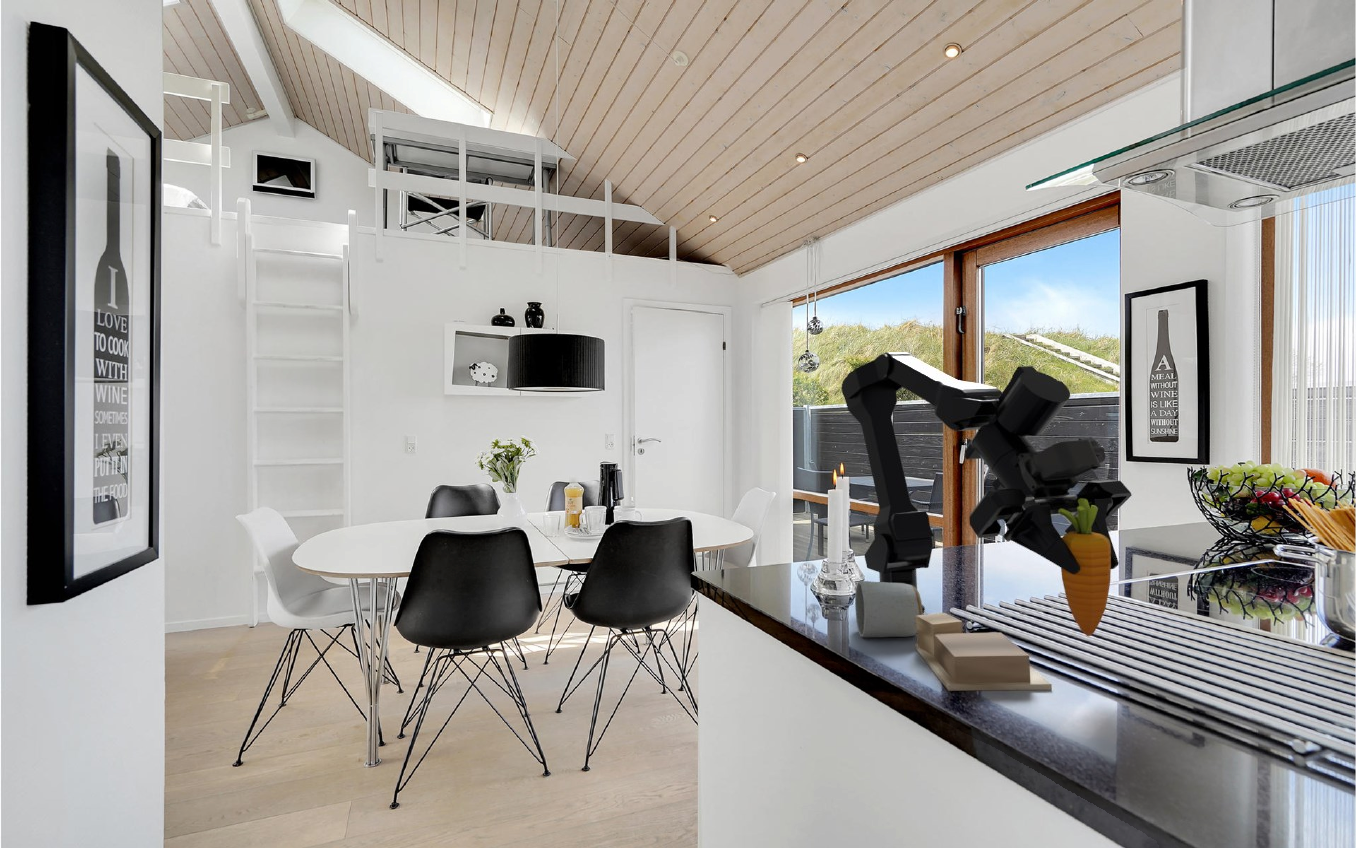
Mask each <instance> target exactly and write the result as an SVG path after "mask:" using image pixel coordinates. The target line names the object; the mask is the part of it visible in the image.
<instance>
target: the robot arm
mask: <svg viewBox="0 0 1356 848" xmlns="http://www.w3.org/2000/svg"><path fill="white" fill-rule="evenodd" d="M902 389H905V390H907V391H909V392H910V393H912V394H913V395H916V396H918V397H919V398H920V399H922V400H924V401H925V402H927V403H929V404H930V405H931V406H932V407H933V408H934V415H935V416H936V418H938V419H939V420H940V422H942V423H943V424H944V425H945V426H946V427H947V428H949V429H950V430H951V431H954V432H955V431H956V432H961V431H976V430H977V432H976V433H975V435H974V436H973V437H972V438H968V439H967V446H966V448H965V450H964V458H965V460H980V459H982V460H983V461H984V463H985V465H986V466H987V468H988V469H989V470H990V471H991V474H993V477H995V480H994V481H993V482H992V483H991V486H992V487H993V488H994V489H991V490H987V491H986V492H985V494H984V495H983V496H982V498H981V499H980V501H979V502H978V503H977V504H976V505H975V507H974V509H972V511H971V513H970V514H969V517H968V518H969V519H968V520H969V526H970V527H971V529H972V530H973V532H974V533H975V535H976V537H977V538H978V539H981V538H982V539H983V538H991V537H998V536H999V534H1001V530H1002V526H1001V523H1000V522H999V521H1000V520H1001V521H1002V520H1003V521H1004V523H1005V526H1006V527H1007V531H1006V532H1005V533H1004V534H1003V536H1002V538H1003V539H1004V540H1005V541H1006V542H1007V541H1008V542H1009V541H1011V542H1014V543H1015V544H1017V545H1019V546H1021V547H1023V548H1026V549H1027V550H1029V551H1032V552H1033V553H1035V554H1037V555H1038V556H1040V557H1042V558H1044V559H1046V560H1047V561H1049V562H1051V563H1053V564H1054V565H1056V566H1058V567H1059V568H1060V569H1061V568H1063V569H1064V570H1066V571H1068V572H1069V573H1071V574H1077V573H1078V572H1079V571H1080V569H1081V568H1080V566H1079V564H1078V562H1077V561H1076V559H1075V557H1074V555H1073V554H1072V552H1071V551H1070V549H1069V548H1068V546H1067V545H1066V543H1065V542H1064V541H1063V539H1062V536H1061V535H1060V533H1059V532H1058V530H1057V529H1056V527H1055V526H1054V523H1053V521H1052V516H1061V514H1059V513H1058V510H1059V509H1065V510H1067V511H1069V512H1070V513H1071V514H1072V515H1073V516H1074V517H1075V516H1076V515H1078V512H1077V507H1079V502H1078V500H1079V499H1080V498H1083V499H1086V500H1088V503H1089V507H1090V508H1091V505H1095V506H1096V507H1097V508H1098V511H1097V514H1096V517H1095V520H1094V522H1093V524H1092V527H1091V532H1094V533H1098V534H1102V535H1104V536H1106V537H1107V538H1108V539H1109V541H1110V545H1111V570H1114V569H1116V568H1117V567H1118V566H1119V564H1120V563H1119V560H1118V557H1117V553H1116V551H1115V548H1114V545H1113V542H1112V539H1111V536H1110V533H1109V532H1110V531H1109V529H1108V524H1107V521H1108V520H1109V519H1110V518H1111V517H1112V516H1113V515H1114V514H1115V513H1116V512H1117V511H1118V510H1119V509H1120V508H1121V507H1122V506H1123V505H1124V504H1125V503H1126V502H1127V501H1128V500H1129V499H1130V498H1131V497H1132V495H1133V494H1132V492H1131V491H1130V490H1129V489H1128V488H1127V486H1126V485H1125V484H1124V483H1123V482H1122V481H1121V480H1116V479H1104V480H1092V481H1088V482H1087V483H1086V484H1085V485H1084V486H1083V487H1082V489H1080V490H1079V492H1078V493H1074V494H1071V493H1070V492H1069V490H1070V489H1074V488H1075V486H1077V485H1078V484H1079V481H1080V480H1078V479H1077V478H1076V477H1079V476H1080V475H1082V474H1084V473H1087V472H1088V471H1091V470H1097V469H1099V468H1100V467H1101V463H1103V462H1104V461H1105V460H1106V453H1105V448H1104V447H1103V446H1102V445H1101V444H1100V443H1098V442H1097V441H1096V440H1095V439H1094V438H1093V437H1092V436H1086V437H1084V436H1083V437H1079V438H1078V439H1076V440H1064V441H1058V442H1056V443H1054V444H1052V445H1051V446H1048V447H1046V448H1045V449H1043V450H1041V451H1038V450H1037V449H1036V447H1035V446H1034V445H1033V443H1031V441H1030V440H1029V439H1028V438H1027V437H1028V436H1032V437H1037V436H1040V435H1042V433H1044V432H1045V431H1046V429H1047V428H1048V426H1049V425H1050V424H1051V422H1053V420H1054V419H1055V418H1056V416H1057V415H1058V414H1059V412H1060V411H1061V410H1062V409H1063V407H1064V406H1065V404H1067V402H1068V401H1069V399H1070V398H1071V392H1070V390H1069V388H1068V386H1067V385H1066V384H1065V383H1064V382H1063V381H1061V380H1058V379H1056V378H1055V377H1053V376H1051V375H1049V374H1046V373H1044V372H1042V371H1041V372H1040V371H1037V370H1036V369H1035V368H1034V366H1032V365H1026V366H1018V367H1016V369H1015V370H1014V372H1013V374H1012V377H1011V379H1010V381H1009V382H1008V384H1007V385H1006V386H1005V388H1004V389H1003V391H1002V390H1000V389H999V388H998V387H995V386H993V385H987V384H985V383H984V384H983V383H979V382H972V381H964V380H960V379H959V380H958V379H956V378H954V377H952V376H950V375H948V374H946V373H945V372H942V371H940V370H938V369H937V368H935V367H934V366H932V365H931V366H930V365H929V364H927V363H925V362H923V361H921V360H919V359H918V358H916V357H915V356H914V355H913V354H912V353H909V352H908V351H907V352H906V351H895V352H894V351H893V352H892V351H891V352H890V351H888V352H887V351H886V352H883V353H881V354H879V355H878V356H877V357H876V358H875V359H873V360H871V361H869V362H867V363H865V364H863V365H861V366H858V367H856V368H855V369H853V370H852V371H849V373H848V374H847V375H846V377H845V378H844V379H843V380H842V384H841V393H842V396H843V398H844V401H845V404H846V407H847V409H848V412H849V413H850V415H852V417H853V418H854V419H856V420H857V422H858V423H859V424H860V425H861V429H862V434H863V435H862V436H863V439H864V442H865V443H864V444H865V447H866V453H867V457H868V461H869V466H870V470H871V475H872V479H873V484H874V489H875V494H876V499H877V503H878V513H877V515H876V517H875V521H874V524H873V535H874V539H873V541H872V542H871V544H870V546H869V547H868V549H867V550H866V552H865V554H864V560H865V566H866V568H867V569H868V570H871V571H874V572H878V574H879V575H878V577H879V582H887V583H904V584H908V585H912V586H914V587H915V588H916V589H917V590H918V582H917V581H918V577H917V570H918V569H929V567H930V561H931V558H932V557H931V556H932V551H933V548H934V539H933V537H934V536H935V535H934V532H933V531H932V527H931V525H930V517H929V514H928V512H927V511H926V510H920V511H919V510H918V508H916V506H915V505H914V504H913V503H912V500H911V497H910V496H911V495H910V492H909V488H908V484H907V479H906V475H905V471H904V467H903V463H902V462H903V461H902V457H901V455H900V454H901V453H900V450H899V444H898V441H897V436H896V431H895V428H894V422H893V419H892V418H893V414H894V410H895V409H896V406H897V403H898V395H897V393H899V392H900V391H901V390H902ZM1062 517H1063V518H1065V520H1067V522H1068V523H1069V524H1070V525H1069V526H1068V527H1067V528H1066V529H1065V530H1064V532H1065V534H1067V533H1069V532H1074V531H1076V529H1075V527H1074V526H1073V524H1072V523H1071V522H1070V521H1069V520H1068V519H1067V518H1066V517H1065V516H1063V515H1062ZM925 610H926V608H925V606H924V604H922V611H925Z"/></svg>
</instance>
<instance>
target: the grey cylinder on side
mask: <svg viewBox="0 0 1356 848" xmlns="http://www.w3.org/2000/svg"><path fill="white" fill-rule="evenodd" d="M919 592H920V591H918V588H917V589H916V588H915V587H914V586H912V585H908V584H904V583H887V582H880V581H868V580H859V581H858V582H857V584H856V587H855V594H854V597H855V598H854V602H855V603H854V604H855V605H854V606H855V617H856V619H855V620H856V627H857V630H858V633H859V635H860V637H861V638H894V637H895V638H905V637H906V638H907V637H908V638H909V637H914V636H917V624H916V616H917V615H924V613H923V611H922V605H923V603H922V599H921V594H920V593H919Z"/></svg>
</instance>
